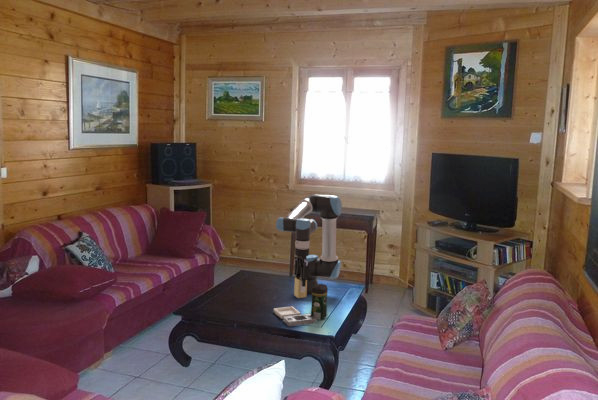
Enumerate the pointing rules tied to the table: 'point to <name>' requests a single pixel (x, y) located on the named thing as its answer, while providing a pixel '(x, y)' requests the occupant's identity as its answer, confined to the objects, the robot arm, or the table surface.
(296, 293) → the block
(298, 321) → the rail
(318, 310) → the coffee jar
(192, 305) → the table surface
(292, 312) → the tray
